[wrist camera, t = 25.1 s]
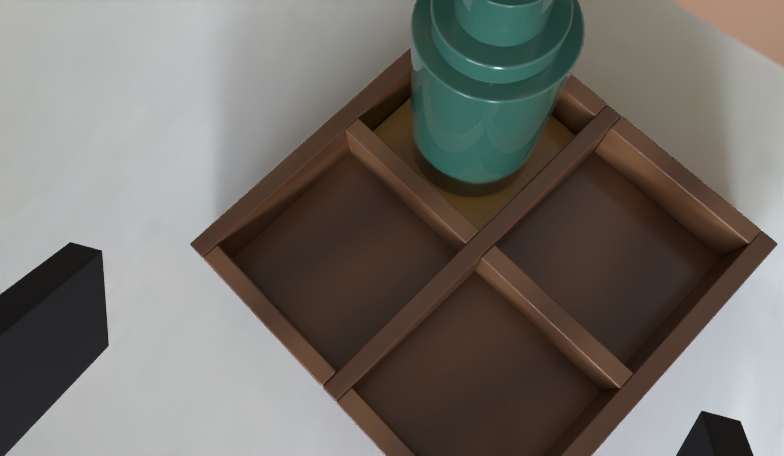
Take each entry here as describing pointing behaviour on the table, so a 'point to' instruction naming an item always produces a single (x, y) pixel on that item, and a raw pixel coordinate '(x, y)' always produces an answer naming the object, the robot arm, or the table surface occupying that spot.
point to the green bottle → (487, 86)
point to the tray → (483, 277)
